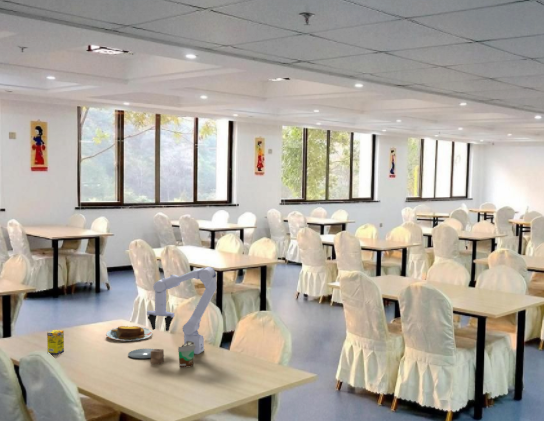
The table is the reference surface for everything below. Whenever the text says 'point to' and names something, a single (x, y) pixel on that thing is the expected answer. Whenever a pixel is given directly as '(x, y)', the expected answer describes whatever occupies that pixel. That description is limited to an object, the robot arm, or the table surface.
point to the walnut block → (157, 356)
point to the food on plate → (129, 333)
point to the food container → (186, 354)
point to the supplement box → (55, 342)
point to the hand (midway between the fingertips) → (160, 329)
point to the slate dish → (140, 353)
